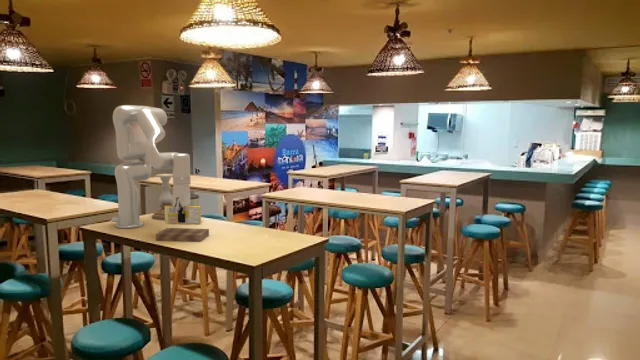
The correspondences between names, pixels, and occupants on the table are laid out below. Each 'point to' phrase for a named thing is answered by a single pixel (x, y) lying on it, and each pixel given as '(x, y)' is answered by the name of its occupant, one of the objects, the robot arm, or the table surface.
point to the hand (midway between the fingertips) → (182, 221)
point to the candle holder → (164, 196)
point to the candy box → (190, 215)
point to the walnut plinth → (182, 234)
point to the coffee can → (194, 200)
